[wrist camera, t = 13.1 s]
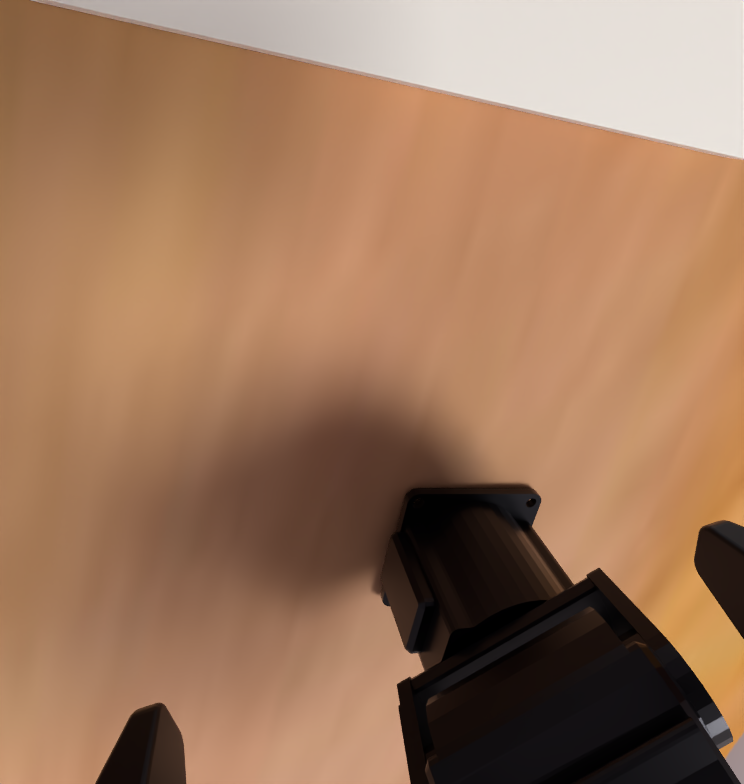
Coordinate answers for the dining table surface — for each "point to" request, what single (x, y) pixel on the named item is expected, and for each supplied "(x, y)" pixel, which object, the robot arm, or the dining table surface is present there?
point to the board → (505, 53)
